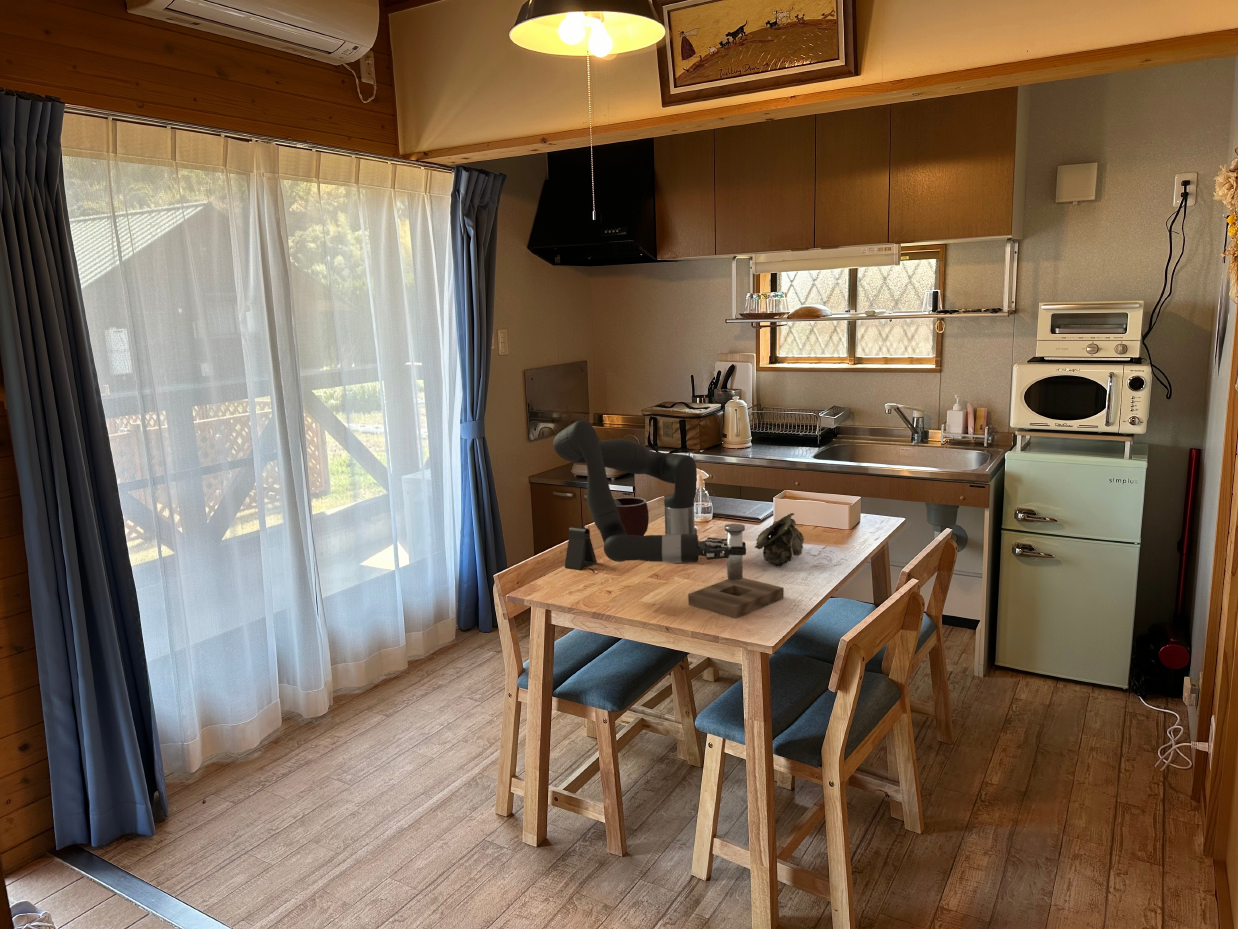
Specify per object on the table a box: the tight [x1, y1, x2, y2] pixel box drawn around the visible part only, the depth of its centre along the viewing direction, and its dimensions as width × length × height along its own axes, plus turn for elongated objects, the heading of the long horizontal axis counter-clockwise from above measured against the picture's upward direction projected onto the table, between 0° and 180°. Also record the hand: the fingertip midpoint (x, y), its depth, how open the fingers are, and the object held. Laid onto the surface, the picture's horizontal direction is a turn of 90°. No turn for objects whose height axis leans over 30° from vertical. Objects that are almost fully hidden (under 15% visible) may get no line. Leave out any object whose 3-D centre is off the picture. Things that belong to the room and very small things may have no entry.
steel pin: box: [724, 523, 746, 580], centre depth 225 cm, size 5×5×14 cm
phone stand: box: [564, 526, 598, 571], centre depth 265 cm, size 9×6×12 cm, turn 147°
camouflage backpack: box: [754, 512, 805, 568], centre depth 263 cm, size 28×13×15 cm
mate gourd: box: [613, 496, 650, 536], centre depth 275 cm, size 16×14×20 cm
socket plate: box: [687, 577, 785, 620], centre depth 227 cm, size 20×16×3 cm
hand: (745, 548), depth 225 cm, fingers closed on steel pin, 4 cm apart
